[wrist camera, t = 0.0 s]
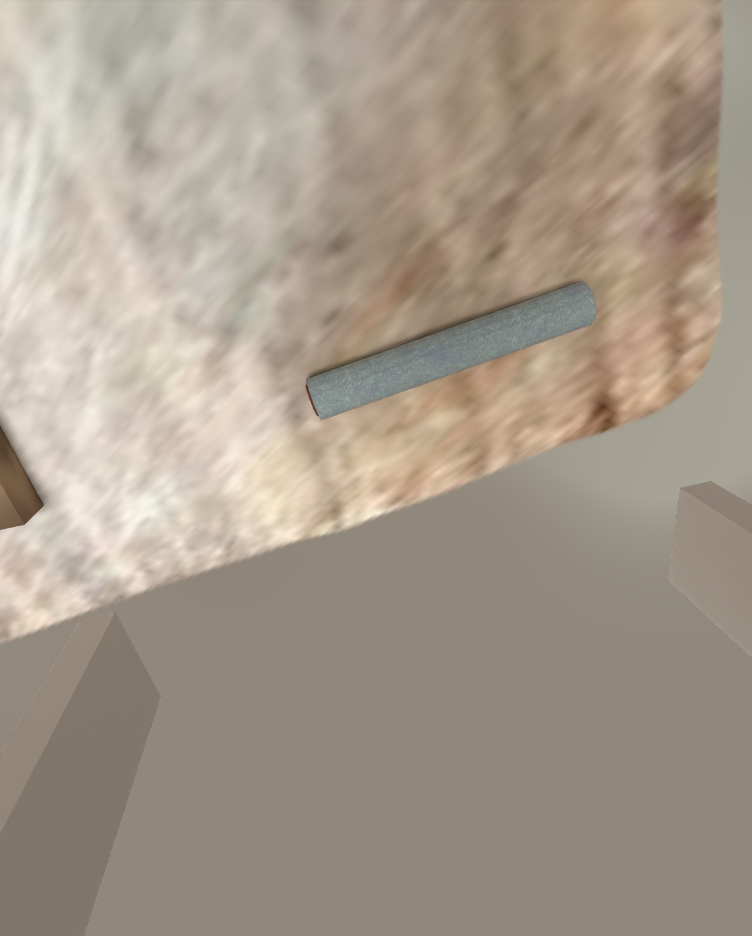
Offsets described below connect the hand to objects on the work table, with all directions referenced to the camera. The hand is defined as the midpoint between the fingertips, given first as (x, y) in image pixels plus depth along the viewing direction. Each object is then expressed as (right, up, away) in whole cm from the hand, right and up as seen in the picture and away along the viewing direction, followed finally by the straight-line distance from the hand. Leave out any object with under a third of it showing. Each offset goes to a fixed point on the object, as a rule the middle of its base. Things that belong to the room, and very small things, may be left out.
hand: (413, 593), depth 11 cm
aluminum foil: (+5, +11, +28) cm, 31 cm away
